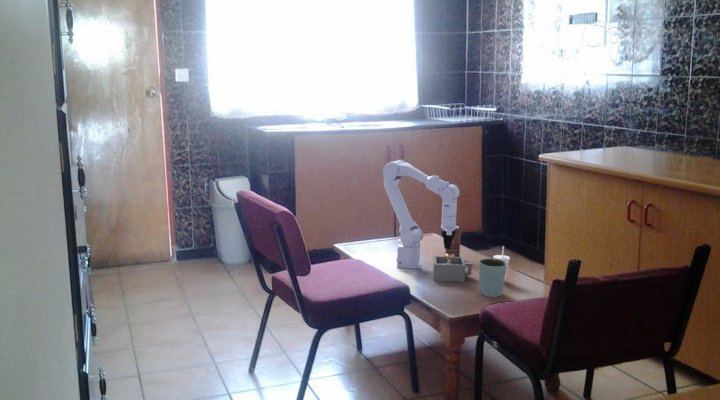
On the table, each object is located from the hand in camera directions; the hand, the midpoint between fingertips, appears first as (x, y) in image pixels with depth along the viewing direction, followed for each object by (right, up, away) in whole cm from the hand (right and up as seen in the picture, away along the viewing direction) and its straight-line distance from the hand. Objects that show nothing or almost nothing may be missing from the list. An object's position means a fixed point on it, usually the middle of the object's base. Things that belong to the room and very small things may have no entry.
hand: (447, 248), depth 291 cm
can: (+5, -6, +24) cm, 25 cm away
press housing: (+1, -11, -4) cm, 12 cm away
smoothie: (+20, -12, -7) cm, 24 cm away
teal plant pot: (+13, -15, -22) cm, 30 cm away
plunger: (0, -7, -4) cm, 8 cm away
